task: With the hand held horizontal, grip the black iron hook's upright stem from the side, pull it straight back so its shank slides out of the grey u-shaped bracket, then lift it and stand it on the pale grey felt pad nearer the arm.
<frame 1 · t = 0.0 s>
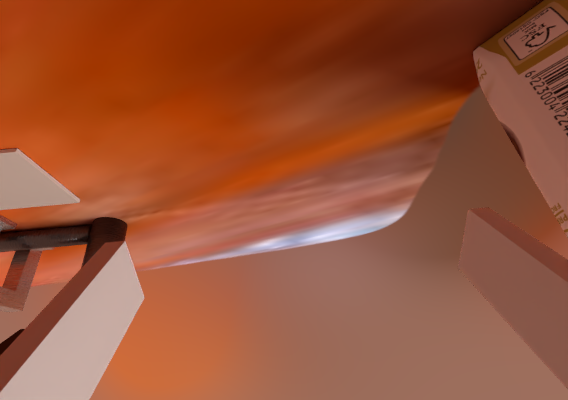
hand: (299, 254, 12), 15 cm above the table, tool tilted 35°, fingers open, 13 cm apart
hook: (110, 224, 41), on the table
grey u-shaped bracket: (11, 233, 41), on the table
juice carton: (531, 44, 23), on the table
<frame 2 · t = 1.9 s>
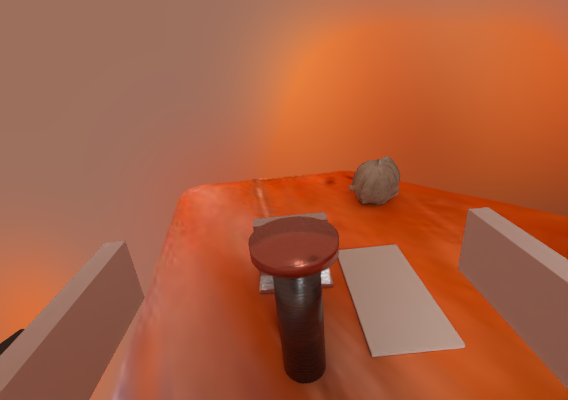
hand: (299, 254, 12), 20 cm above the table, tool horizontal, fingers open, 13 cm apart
pad: (386, 289, 38), on the table
hook: (304, 363, 30), on the table
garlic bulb: (373, 203, 61), on the table
grey u-shaped bracket: (295, 278, 42), on the table
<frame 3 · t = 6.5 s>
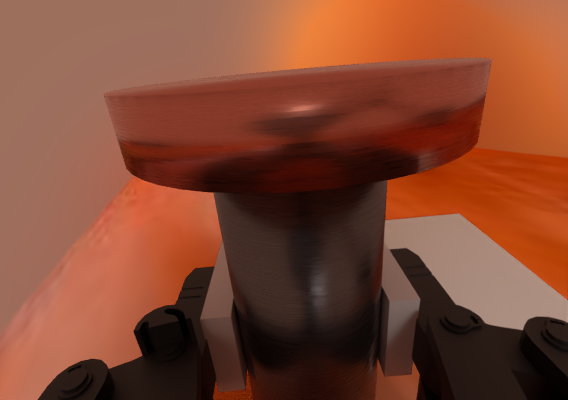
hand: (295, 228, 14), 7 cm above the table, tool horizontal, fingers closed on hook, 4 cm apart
pad: (465, 285, 20), on the table
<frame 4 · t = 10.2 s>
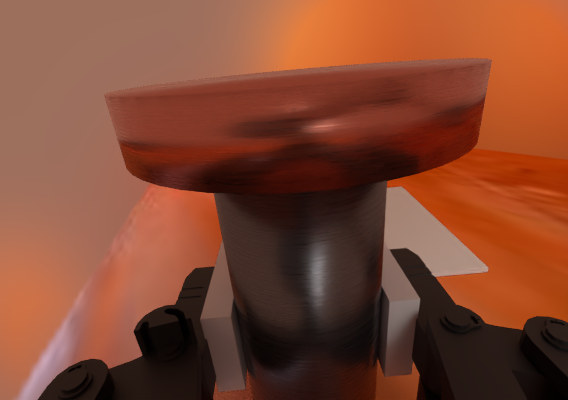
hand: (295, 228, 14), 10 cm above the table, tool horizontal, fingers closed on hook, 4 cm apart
pad: (392, 224, 33), on the table
when the fingers open (9 cm above the table, at t = 14.1 s): hook drops 1 cm, resting on pad.
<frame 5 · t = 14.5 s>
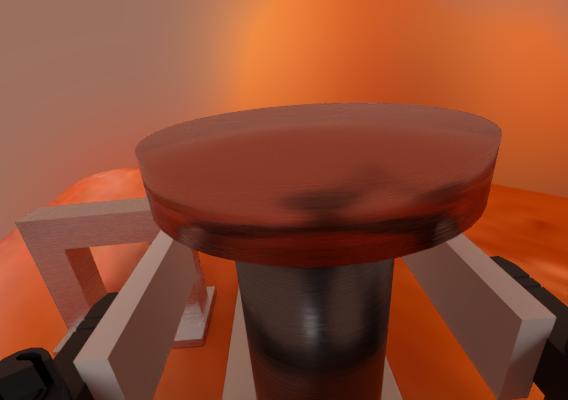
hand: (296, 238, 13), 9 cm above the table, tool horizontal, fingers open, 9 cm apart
pad: (305, 356, 18), on the table
grey u-shaped bracket: (144, 322, 22), on the table
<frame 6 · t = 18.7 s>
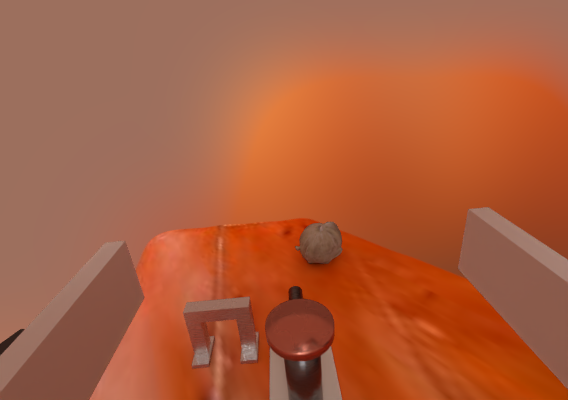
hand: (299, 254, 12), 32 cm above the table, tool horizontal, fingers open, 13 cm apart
pad: (302, 367, 43), on the table
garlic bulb: (319, 260, 66), on the table
grey u-shaped bracket: (227, 350, 47), on the table
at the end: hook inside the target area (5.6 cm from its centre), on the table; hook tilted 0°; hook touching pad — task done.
